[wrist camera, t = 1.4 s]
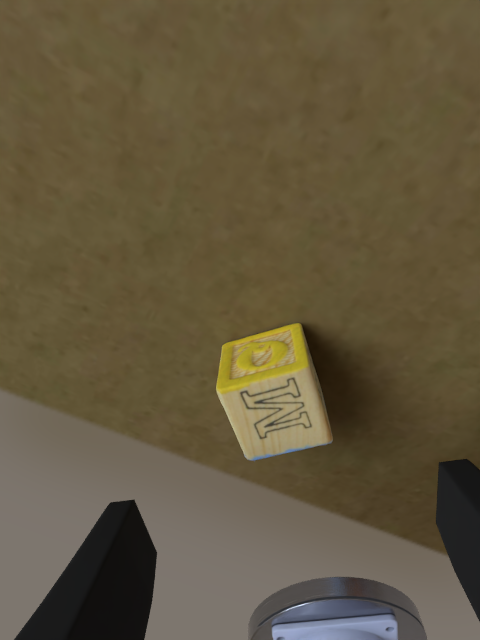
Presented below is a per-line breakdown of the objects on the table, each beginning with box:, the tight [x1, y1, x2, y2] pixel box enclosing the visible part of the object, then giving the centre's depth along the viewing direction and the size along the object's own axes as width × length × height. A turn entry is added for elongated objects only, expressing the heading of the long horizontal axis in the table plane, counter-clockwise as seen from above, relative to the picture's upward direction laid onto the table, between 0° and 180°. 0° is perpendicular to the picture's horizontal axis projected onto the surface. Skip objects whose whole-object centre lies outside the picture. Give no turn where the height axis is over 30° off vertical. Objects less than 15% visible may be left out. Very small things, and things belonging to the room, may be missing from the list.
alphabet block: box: [216, 323, 333, 460], centre depth 14 cm, size 3×3×3 cm
